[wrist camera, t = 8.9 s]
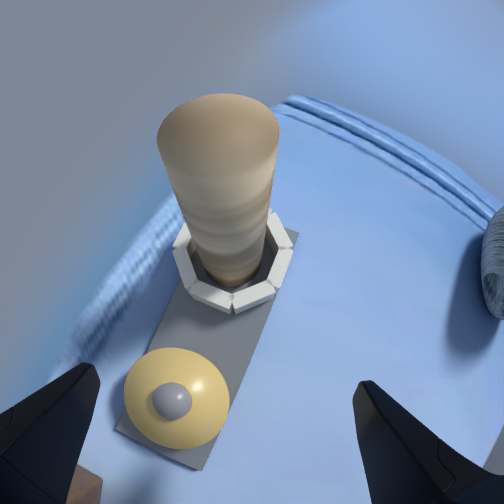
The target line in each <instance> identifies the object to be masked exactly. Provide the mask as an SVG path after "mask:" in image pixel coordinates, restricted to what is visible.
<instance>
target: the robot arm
mask: <svg viewBox="0 0 504 504" xmlns="http://www.w3.org/2000/svg"><path fill="white" fill-rule="evenodd" d="M99 388H100V379H99V376H98V374H97V371H96V369H95V366H94V365H93V364H90V363H86V362H82V363H80V364H79V365H77V366H76V367H74V368H72V369H71V370H69V371H68V372H66V373H65V374H63V375H61V376H60V377H58V378H57V379H55V380H54V381H52V382H50V383H49V384H47V385H46V386H44V387H43V388H41V389H40V390H38V391H36V392H35V393H33V394H31V395H30V396H28V397H27V398H25V399H24V400H22V401H21V402H19V403H17V404H16V405H14V407H11V408H9V409H8V410H6V411H4V412H3V413H1V414H0V504H66V501H67V497H68V493H69V490H70V486H71V482H72V479H73V475H74V472H75V469H76V465H77V462H78V459H79V456H80V452H81V449H82V446H83V443H84V440H85V437H86V434H87V432H88V429H89V426H90V423H91V420H92V416H93V412H94V408H95V404H96V400H97V396H98V392H99ZM353 409H354V416H355V424H356V433H357V439H358V444H359V448H360V452H361V457H362V461H363V465H364V469H365V474H366V478H367V483H368V488H369V492H370V497H371V502H372V504H504V475H496V474H492V473H490V472H488V471H485V470H484V469H483V468H481V467H479V466H478V465H476V464H475V463H473V462H471V461H470V460H468V459H467V458H465V457H464V456H462V455H461V454H459V453H458V452H456V451H455V450H454V449H452V448H451V447H450V446H449V445H447V444H446V443H445V442H444V441H443V440H441V439H440V438H438V436H436V435H435V434H434V433H433V432H432V431H430V430H429V429H428V428H427V427H426V426H425V425H423V424H422V423H421V422H420V421H419V420H417V419H416V418H415V417H414V416H413V415H412V414H410V413H409V412H408V411H407V410H406V409H405V408H403V407H402V406H401V405H400V404H399V403H398V402H396V401H395V400H394V399H393V398H392V397H391V396H389V395H388V394H387V393H386V392H385V391H384V390H383V389H381V388H380V387H379V386H378V385H377V384H376V383H374V382H373V381H371V380H367V381H361V382H360V383H359V384H358V387H357V389H356V391H355V393H354V396H353Z"/></svg>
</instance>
